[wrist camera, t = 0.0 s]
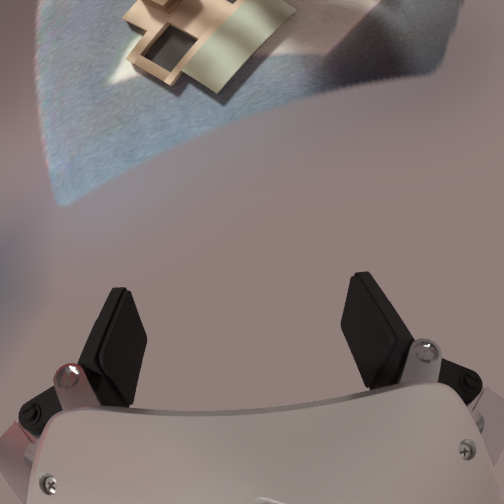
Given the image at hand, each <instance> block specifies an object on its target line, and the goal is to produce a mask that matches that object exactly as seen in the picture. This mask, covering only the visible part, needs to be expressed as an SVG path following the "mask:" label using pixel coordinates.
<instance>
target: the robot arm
mask: <svg viewBox="0 0 504 504" xmlns="http://www.w3.org/2000/svg"><path fill="white" fill-rule="evenodd" d="M341 329H342V331H343V334H344V336H345V338H346V340H347V343H348V345H349V348H350V350H351V352H352V355H353V357H354V360H355V362H356V364H357V367H358V369H359V372H360V374H361V377H362V379H363V382H364V384H365V386H366V387H367V388H368V387H369V388H370V390H369V391H365V392H360V393H356V394H351V395H346V396H341V397H336V398H331V399H325V400H320V401H313V402H307V403H300V404H292V405H285V406H276V407H266V408H255V409H240V410H217V411H175V410H153V409H138V408H129V405H132V404H133V401H134V396H135V392H136V387H137V382H138V377H139V373H140V369H141V364H142V360H143V356H144V352H145V348H146V344H147V335H146V332H145V330H144V327H143V325H142V322H141V319H140V317H139V314H138V311H137V308H136V305H135V302H134V300H133V297H132V294H131V292H130V291H127V289H126V288H124V287H123V288H122V287H120V288H112V290H111V292H110V294H109V296H108V298H107V300H106V302H105V304H104V306H103V308H102V310H101V312H100V315H99V317H98V319H97V320H96V322H95V324H94V326H93V328H92V331H91V333H90V335H89V337H88V339H87V342H86V344H85V346H84V349H83V351H82V354H81V356H80V358H79V361H78V364H75V363H68V364H65V365H63V366H61V367H60V368H59V369H58V370H57V371H56V373H55V375H54V379H53V383H54V386H52V387H51V388H49V389H47V390H46V391H44V392H43V393H41V394H39V395H38V396H36V397H34V398H33V399H31V400H30V401H28V402H26V403H25V404H24V405H23V406H22V407H21V409H20V412H19V422H18V423H17V422H16V421H14V423H13V424H12V425H11V426H10V427H9V428H8V429H7V430H6V432H5V433H4V434H3V435H2V436H1V437H0V471H1V473H2V475H3V476H4V478H5V479H6V480H7V482H8V483H9V485H10V486H11V488H12V489H13V490H14V492H15V493H16V495H17V496H18V497H19V498H20V499H21V501H22V502H23V504H503V501H502V497H501V493H500V489H499V485H498V481H497V478H496V474H495V471H494V468H493V467H494V465H495V464H496V462H497V460H498V458H499V456H500V454H501V452H502V449H503V448H504V399H503V398H501V397H500V396H499V395H497V394H496V393H495V392H493V391H492V390H491V389H490V388H488V387H487V386H486V387H485V388H483V387H482V380H481V378H480V377H479V375H478V374H477V373H476V372H474V371H472V370H470V369H468V368H465V367H463V366H460V365H458V364H455V363H453V362H450V361H447V360H445V359H443V358H442V352H441V349H440V348H439V346H438V345H437V344H436V343H435V342H433V341H431V340H428V339H418V340H414V338H413V337H412V335H411V333H410V332H409V330H408V329H407V327H406V326H405V324H404V322H403V321H402V319H401V318H400V316H399V315H398V313H397V312H396V310H395V309H394V307H393V306H392V304H391V303H390V301H389V300H388V299H387V297H386V296H385V294H384V293H383V291H382V290H381V288H380V287H379V286H378V284H377V283H376V281H375V280H374V278H373V277H372V275H371V274H370V273H369V272H357V273H355V274H354V276H352V277H351V279H350V284H349V289H348V293H347V298H346V302H345V307H344V311H343V315H342V319H341Z"/></svg>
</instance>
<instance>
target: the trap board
mask: <svg viewBox="0 0 504 504" xmlns="http://www.w3.org/2000/svg"><path fill="white" fill-rule="evenodd" d="M296 11H297V9H295V8H294V7H292V6H291V5H290V4H288V3H287V2H285V1H284V0H183V1H182V2H181V3H180V4H179V5H178V6H177V7H176V8H175V9H174V10H173V11H172V12H171V13H170V14H167V13H165V12H163V11H161V10H159V9H157V8H154V7H152V6H150V5H148V4H146V3H143V2H142V1H141V0H137V1H136V3H135V4H134V5H133V6H132V7H131V8H130V10H129V11H128V12H127V13H126V14H125V15H124V17H123V18H122V19H123V20H125V21H126V22H128V23H130V24H132V25H135V26H137V27H139V28H141V29H143V30H145V31H147V32H146V33H145V34H144V36H143V37H142V38H141V39H140V41H139V42H138V43H137V45H136V46H135V47H134V49H133V50H132V51H131V53H130V54H129V55H128V57H127V58H126V60H128V61H129V62H131V63H133V64H135V65H137V66H138V67H140V68H142V69H144V70H145V71H147V72H149V73H150V74H152V75H154V76H155V77H157V78H159V79H160V80H162V81H164V82H165V83H167V84H169V85H171V86H173V85H174V84H175V82H176V81H177V80H178V78H179V77H180V76H181V75H182V73H183V72H184V73H186V74H187V75H189V76H190V77H192V78H194V79H195V80H197V81H198V82H200V83H201V84H203V85H204V86H206V87H207V88H209V89H210V90H212V91H213V92H215V93H216V94H219V92H220V91H221V90H222V89H223V88H224V86H225V85H226V84H227V83H228V82H229V80H230V79H231V78H232V77H233V76H234V75H235V74H236V72H237V71H238V70H239V69H240V68H241V67H242V66H243V65H244V63H245V62H246V61H247V60H248V59H249V58H250V57H251V56H252V55H253V54H254V53H255V52H256V51H257V50H258V48H259V47H260V46H261V45H262V44H263V43H264V42H265V41H266V40H267V39H268V38H269V37H270V36H271V35H272V34H273V33H274V32H275V31H276V30H277V29H278V28H280V27H281V26H282V25H283V24H284V23H285V22H286V21H287V20H288V19H289V18H290V17H291V16H292V15H293V14H294V13H295V12H296Z"/></svg>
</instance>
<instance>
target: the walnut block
mask: <svg viewBox="0 0 504 504" xmlns="http://www.w3.org/2000/svg"><path fill="white" fill-rule="evenodd" d="M141 1H142V2H143V3H146V4H148V5H150V6H152V7H154V8H157V9H159V10H161V11H163V12H165V13H167V14H170V13H171V12H172V11H173V10H174V9H175V8H176V7H177V6H178V5H179V4H180V3H181V2H182V1H183V0H141Z"/></svg>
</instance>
